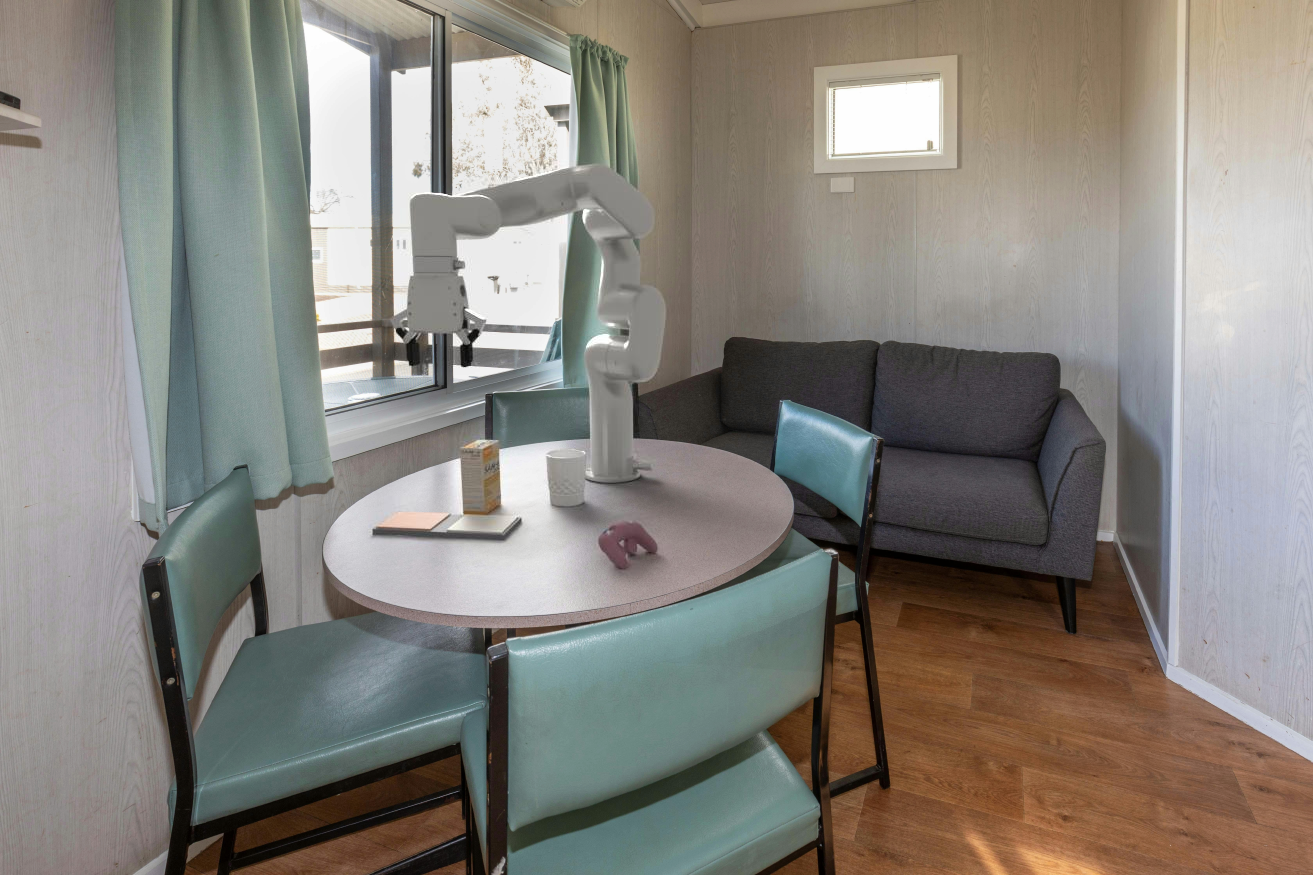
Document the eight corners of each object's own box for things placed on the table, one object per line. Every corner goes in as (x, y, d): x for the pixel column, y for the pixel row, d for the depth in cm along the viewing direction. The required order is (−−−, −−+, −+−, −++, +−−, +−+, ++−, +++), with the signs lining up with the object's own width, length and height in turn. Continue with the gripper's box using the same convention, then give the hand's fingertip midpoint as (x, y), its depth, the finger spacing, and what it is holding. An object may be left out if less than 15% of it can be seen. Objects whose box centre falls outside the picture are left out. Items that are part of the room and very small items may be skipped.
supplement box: (486, 516, 151) (482, 448, 148) (462, 514, 152) (458, 447, 149) (502, 503, 159) (499, 439, 156) (480, 502, 160) (476, 438, 157)
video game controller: (641, 557, 134) (626, 518, 134) (661, 550, 131) (646, 510, 132) (605, 575, 126) (589, 534, 126) (626, 568, 123) (609, 526, 124)
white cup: (593, 498, 162) (592, 450, 160) (576, 509, 155) (575, 459, 153) (558, 495, 165) (556, 447, 163) (540, 505, 158) (538, 456, 156)
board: (521, 522, 147) (521, 515, 147) (504, 540, 137) (503, 533, 137) (398, 516, 150) (398, 510, 150) (372, 534, 141) (372, 527, 140)
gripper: (490, 268, 141) (494, 364, 145) (398, 267, 144) (403, 362, 147) (475, 267, 134) (479, 369, 138) (378, 267, 137) (384, 367, 140)
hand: (440, 365), depth 142 cm, fingers open, 9 cm apart
